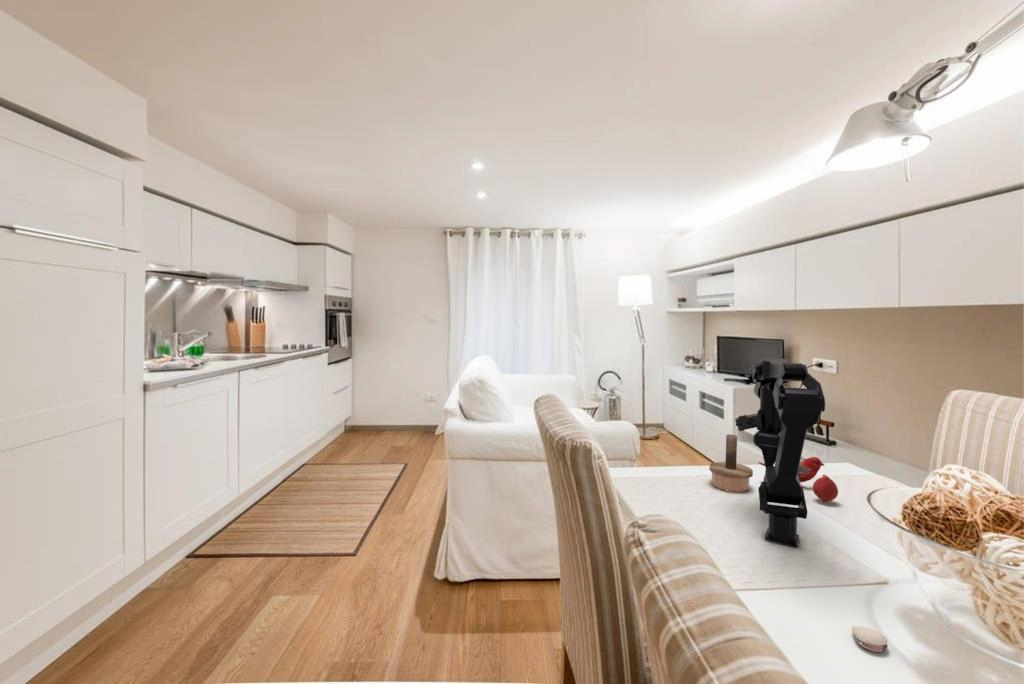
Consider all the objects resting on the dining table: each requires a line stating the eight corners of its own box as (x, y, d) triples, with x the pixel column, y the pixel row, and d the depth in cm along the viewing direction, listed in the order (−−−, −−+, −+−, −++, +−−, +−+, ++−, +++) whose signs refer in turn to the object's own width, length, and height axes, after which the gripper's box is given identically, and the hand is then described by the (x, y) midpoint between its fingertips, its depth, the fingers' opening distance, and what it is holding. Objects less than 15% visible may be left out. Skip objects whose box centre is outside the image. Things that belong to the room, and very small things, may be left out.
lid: (749, 481, 130) (750, 443, 130) (705, 473, 137) (706, 436, 137) (755, 470, 140) (756, 434, 140) (713, 463, 147) (714, 429, 146)
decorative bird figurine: (824, 492, 134) (826, 459, 134) (757, 483, 142) (758, 451, 141) (823, 489, 137) (824, 456, 136) (756, 480, 144) (757, 449, 144)
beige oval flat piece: (870, 657, 68) (871, 641, 68) (841, 635, 73) (841, 620, 73) (894, 653, 69) (895, 638, 69) (863, 631, 74) (863, 616, 74)
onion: (829, 498, 129) (830, 471, 129) (842, 507, 124) (843, 478, 123) (808, 498, 130) (809, 470, 130) (819, 506, 124) (821, 477, 124)
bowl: (745, 494, 132) (746, 479, 132) (709, 487, 138) (709, 472, 138) (750, 484, 140) (751, 470, 140) (715, 478, 146) (716, 464, 146)
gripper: (743, 398, 130) (742, 451, 131) (732, 408, 115) (730, 468, 115) (789, 402, 124) (786, 458, 124) (783, 413, 108) (780, 477, 109)
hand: (770, 465), depth 118 cm, fingers open, 9 cm apart
